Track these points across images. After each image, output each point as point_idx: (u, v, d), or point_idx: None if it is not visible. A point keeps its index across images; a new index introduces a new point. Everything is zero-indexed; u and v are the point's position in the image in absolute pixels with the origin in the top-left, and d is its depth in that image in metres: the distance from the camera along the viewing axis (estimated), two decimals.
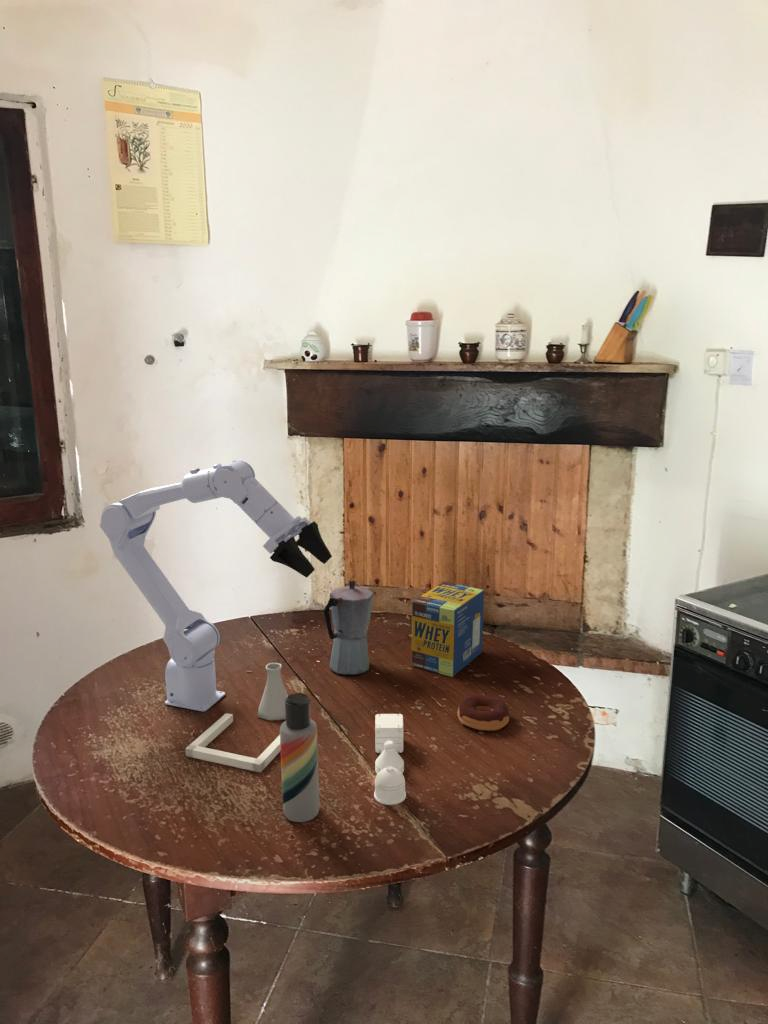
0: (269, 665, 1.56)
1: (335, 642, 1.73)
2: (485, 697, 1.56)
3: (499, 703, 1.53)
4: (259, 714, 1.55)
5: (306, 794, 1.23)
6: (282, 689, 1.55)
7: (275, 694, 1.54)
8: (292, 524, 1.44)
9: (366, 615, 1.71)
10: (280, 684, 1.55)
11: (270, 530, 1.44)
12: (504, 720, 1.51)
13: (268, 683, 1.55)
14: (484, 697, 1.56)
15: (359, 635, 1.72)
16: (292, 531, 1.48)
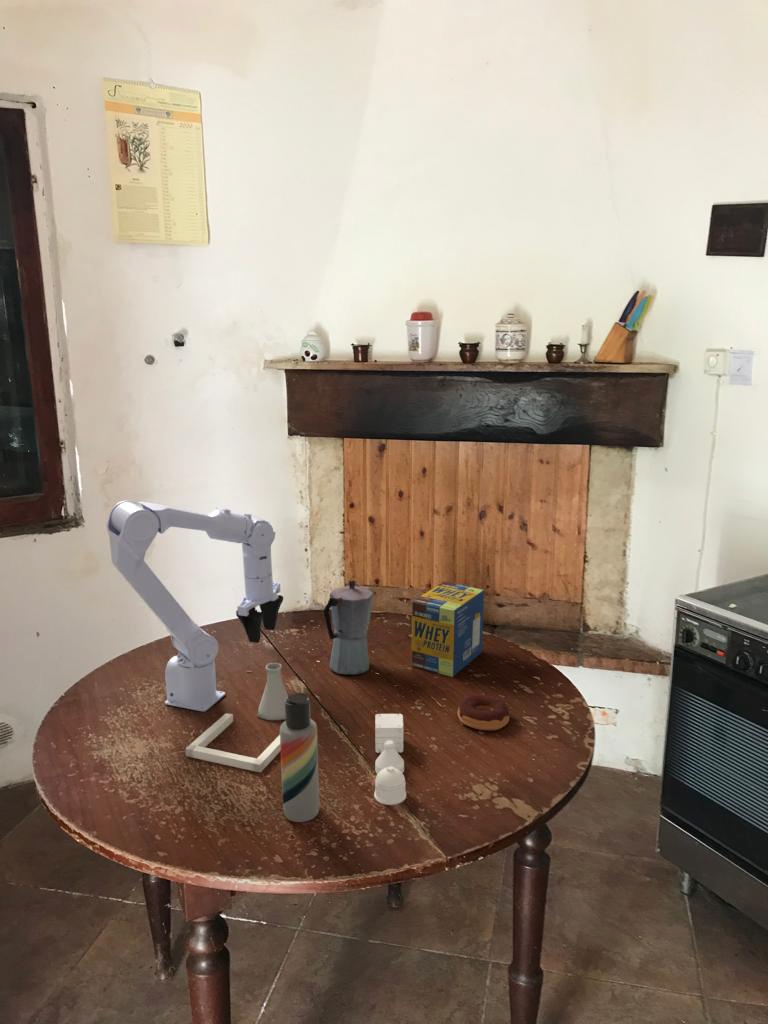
0: (269, 665, 1.56)
1: (335, 642, 1.73)
2: (485, 697, 1.56)
3: (499, 703, 1.53)
4: (259, 714, 1.55)
5: (306, 794, 1.23)
6: (282, 689, 1.55)
7: (275, 694, 1.54)
8: (269, 600, 1.64)
9: (366, 615, 1.71)
10: (280, 684, 1.55)
11: (250, 592, 1.63)
12: (504, 720, 1.51)
13: (268, 683, 1.55)
14: (484, 697, 1.56)
15: (359, 635, 1.72)
16: None
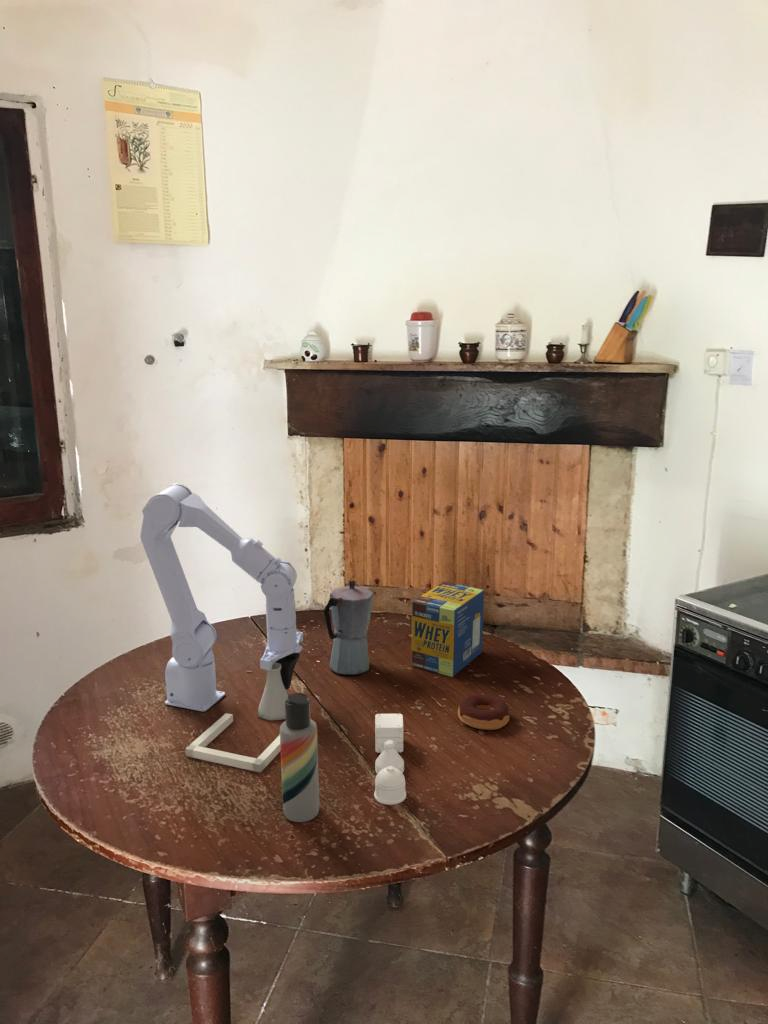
0: None
1: (335, 642, 1.73)
2: (485, 697, 1.56)
3: (499, 702, 1.54)
4: (259, 714, 1.55)
5: (306, 794, 1.23)
6: (282, 689, 1.55)
7: (275, 694, 1.54)
8: (292, 652, 1.56)
9: (366, 615, 1.71)
10: (280, 684, 1.55)
11: (273, 643, 1.55)
12: (504, 719, 1.51)
13: (268, 683, 1.54)
14: (484, 696, 1.56)
15: (359, 635, 1.72)
16: None
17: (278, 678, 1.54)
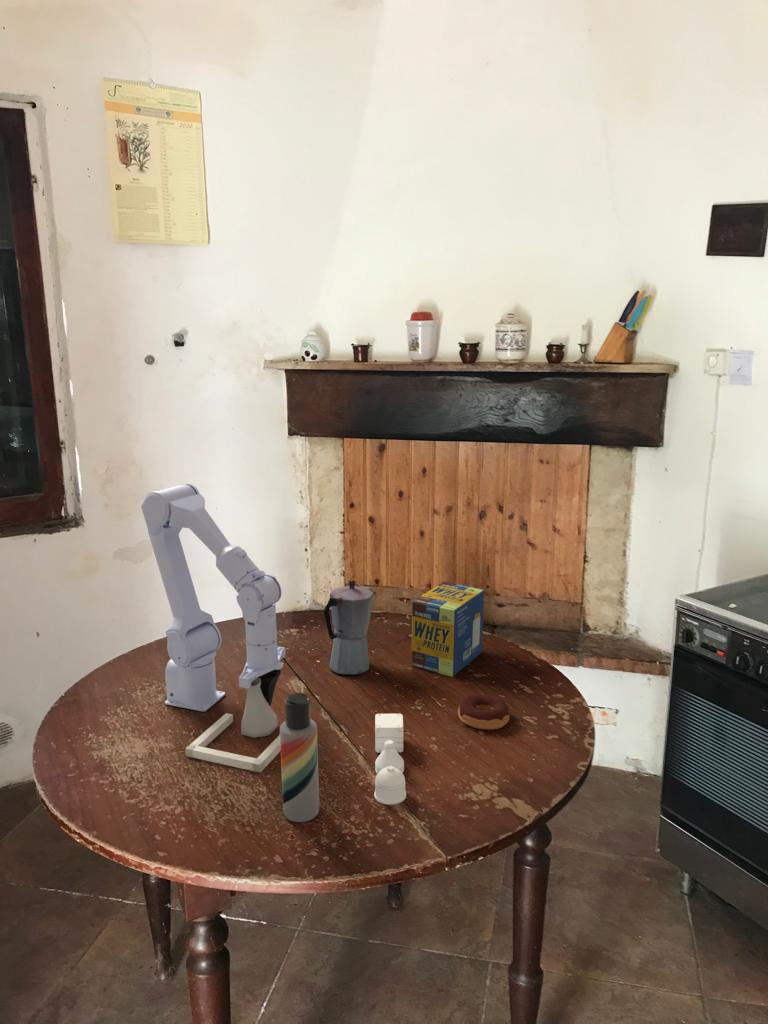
0: None
1: (335, 642, 1.73)
2: (485, 697, 1.56)
3: (499, 702, 1.54)
4: (242, 731, 1.49)
5: (306, 794, 1.23)
6: (264, 704, 1.48)
7: (257, 711, 1.47)
8: (273, 669, 1.48)
9: (366, 615, 1.71)
10: (261, 699, 1.48)
11: (253, 660, 1.48)
12: (504, 719, 1.51)
13: (248, 700, 1.47)
14: (484, 696, 1.56)
15: (359, 635, 1.72)
16: None
17: (259, 694, 1.47)
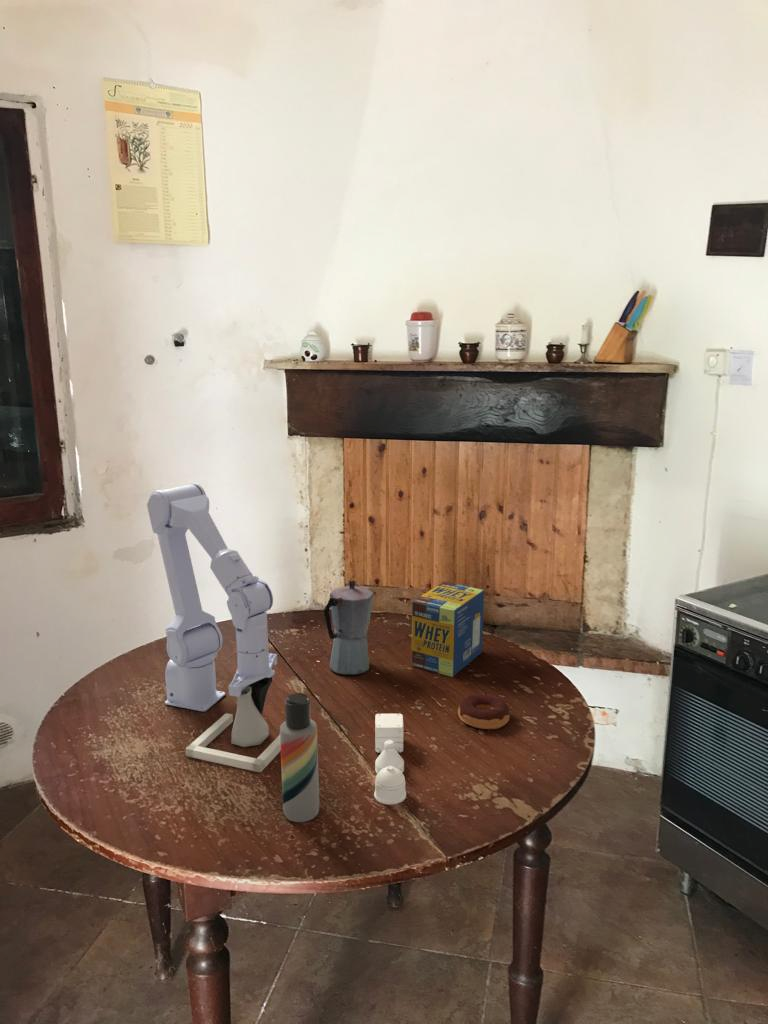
0: None
1: (335, 642, 1.73)
2: (485, 696, 1.56)
3: (499, 702, 1.54)
4: (233, 740, 1.46)
5: (306, 794, 1.23)
6: (254, 713, 1.45)
7: (248, 719, 1.44)
8: (264, 676, 1.45)
9: (366, 615, 1.71)
10: (252, 708, 1.45)
11: (243, 667, 1.45)
12: (504, 719, 1.51)
13: (239, 708, 1.44)
14: (484, 696, 1.56)
15: (359, 635, 1.72)
16: None
17: (249, 702, 1.44)
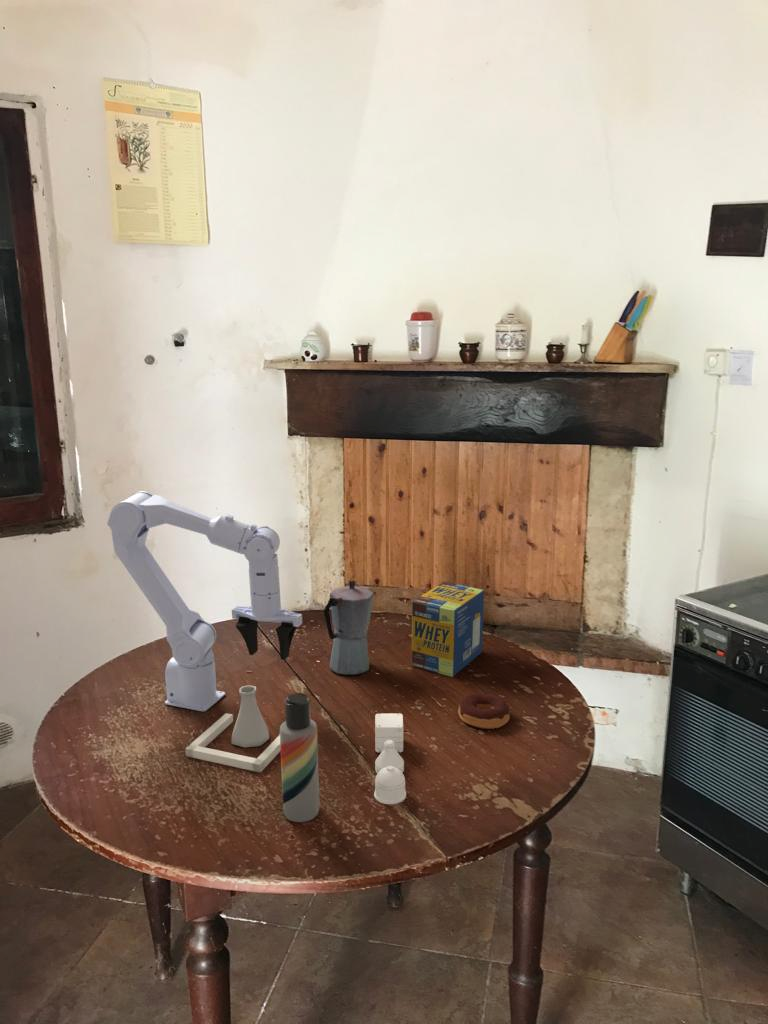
0: (243, 688, 1.46)
1: (335, 642, 1.73)
2: (485, 696, 1.56)
3: (500, 701, 1.54)
4: (233, 741, 1.46)
5: (306, 794, 1.23)
6: (257, 713, 1.46)
7: (250, 719, 1.45)
8: None
9: (366, 615, 1.71)
10: (255, 708, 1.46)
11: (277, 606, 1.55)
12: (505, 718, 1.51)
13: (242, 707, 1.45)
14: (484, 695, 1.57)
15: (359, 635, 1.72)
16: None
17: (253, 702, 1.45)
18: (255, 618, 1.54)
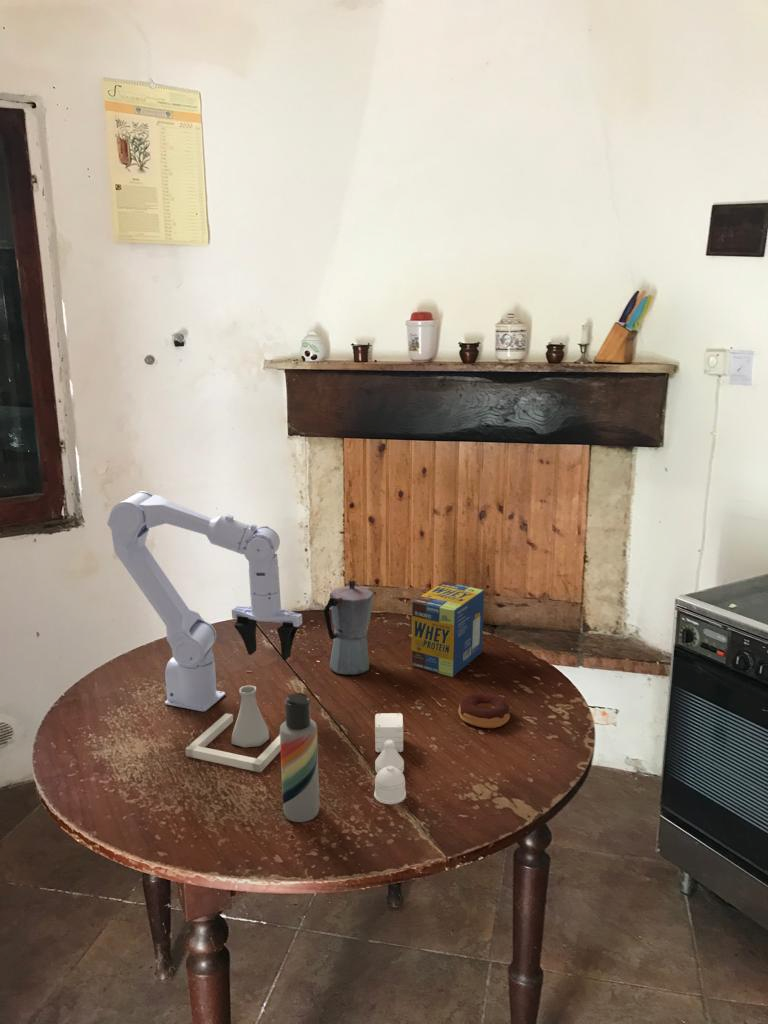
0: (243, 688, 1.46)
1: (335, 642, 1.73)
2: (486, 695, 1.57)
3: (500, 701, 1.54)
4: (233, 741, 1.46)
5: (306, 794, 1.23)
6: (257, 713, 1.46)
7: (250, 719, 1.45)
8: None
9: (366, 615, 1.71)
10: (255, 708, 1.46)
11: (277, 606, 1.55)
12: (505, 717, 1.52)
13: (242, 707, 1.45)
14: (485, 695, 1.57)
15: (359, 635, 1.72)
16: None
17: (253, 702, 1.45)
18: (255, 618, 1.54)
